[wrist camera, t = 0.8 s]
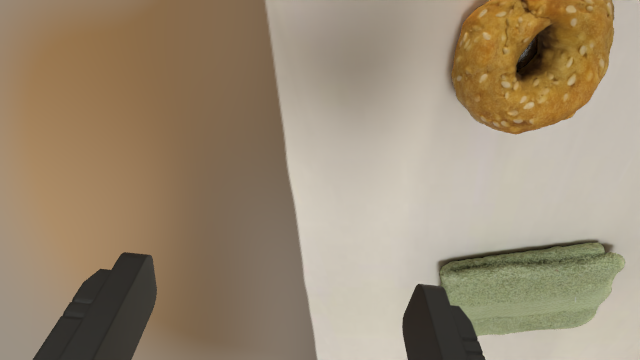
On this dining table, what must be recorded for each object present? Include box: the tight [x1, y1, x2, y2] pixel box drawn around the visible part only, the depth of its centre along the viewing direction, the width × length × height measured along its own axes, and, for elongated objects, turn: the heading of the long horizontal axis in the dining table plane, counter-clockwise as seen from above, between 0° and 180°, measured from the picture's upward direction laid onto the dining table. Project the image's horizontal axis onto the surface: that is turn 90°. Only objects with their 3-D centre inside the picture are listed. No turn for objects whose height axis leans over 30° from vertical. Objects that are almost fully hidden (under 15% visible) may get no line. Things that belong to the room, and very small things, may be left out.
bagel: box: [451, 0, 614, 134], centre depth 25 cm, size 10×11×5 cm
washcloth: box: [440, 242, 625, 336], centre depth 42 cm, size 13×18×3 cm
